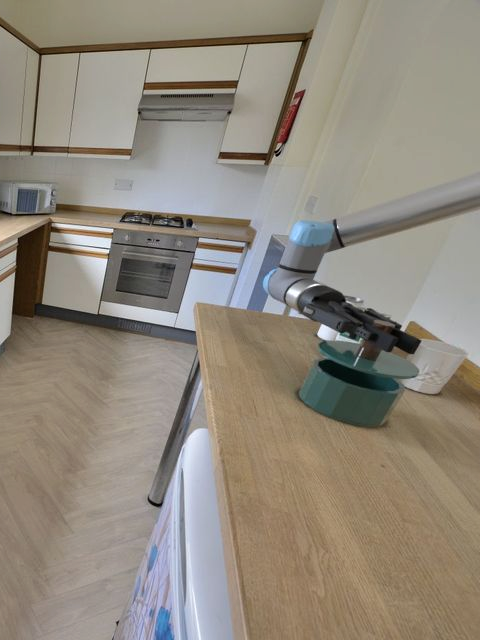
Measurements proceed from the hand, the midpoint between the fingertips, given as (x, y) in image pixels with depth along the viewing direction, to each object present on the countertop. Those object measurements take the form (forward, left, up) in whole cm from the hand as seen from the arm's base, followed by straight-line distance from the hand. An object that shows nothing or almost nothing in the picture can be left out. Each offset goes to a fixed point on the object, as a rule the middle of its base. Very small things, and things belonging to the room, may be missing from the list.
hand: (403, 346), depth 71 cm
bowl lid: (+3, -4, -6) cm, 8 cm away
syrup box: (+3, -28, -16) cm, 33 cm away
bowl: (+3, -4, -16) cm, 17 cm away
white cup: (-10, -28, -16) cm, 34 cm away
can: (+6, -47, -16) cm, 51 cm away
